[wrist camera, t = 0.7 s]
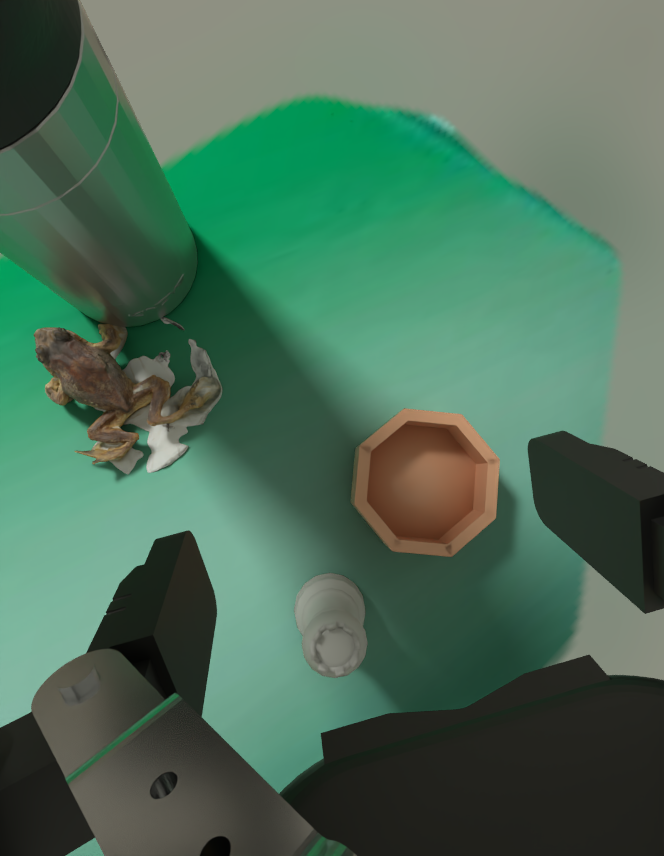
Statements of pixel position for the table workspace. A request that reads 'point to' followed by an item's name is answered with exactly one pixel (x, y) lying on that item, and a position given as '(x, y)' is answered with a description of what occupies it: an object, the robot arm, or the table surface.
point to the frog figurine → (127, 393)
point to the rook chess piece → (331, 624)
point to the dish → (425, 482)
